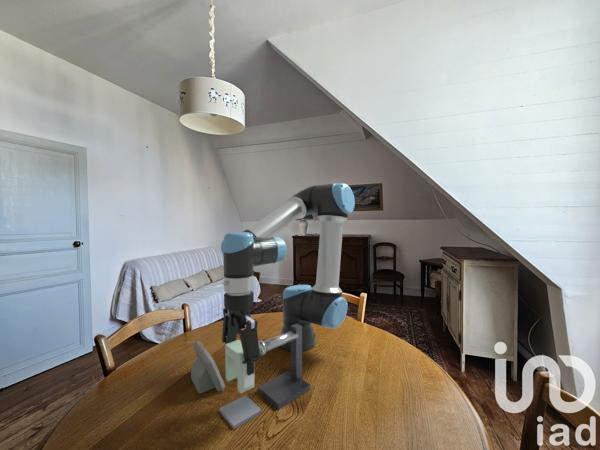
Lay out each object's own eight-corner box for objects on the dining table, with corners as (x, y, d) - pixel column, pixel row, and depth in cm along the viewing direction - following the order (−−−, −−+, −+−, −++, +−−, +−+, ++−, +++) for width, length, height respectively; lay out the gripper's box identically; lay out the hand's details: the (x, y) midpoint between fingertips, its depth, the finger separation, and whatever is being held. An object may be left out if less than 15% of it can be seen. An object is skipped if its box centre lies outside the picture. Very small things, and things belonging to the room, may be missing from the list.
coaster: (219, 411, 70) (219, 408, 70) (245, 397, 75) (245, 394, 75) (233, 429, 64) (233, 426, 64) (261, 413, 69) (261, 410, 69)
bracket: (225, 378, 71) (225, 344, 71) (238, 373, 74) (238, 339, 73) (240, 393, 65) (240, 355, 65) (254, 386, 68) (254, 350, 67)
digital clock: (226, 393, 77) (225, 357, 77) (192, 402, 74) (192, 364, 73) (218, 365, 92) (218, 335, 92) (190, 371, 88) (190, 340, 88)
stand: (250, 394, 76) (250, 333, 76) (289, 374, 86) (289, 320, 86) (271, 413, 69) (270, 345, 68) (310, 389, 79) (310, 329, 78)
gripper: (208, 286, 74) (209, 366, 75) (247, 304, 58) (248, 405, 59) (232, 282, 79) (233, 357, 80) (274, 297, 63) (275, 390, 64)
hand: (239, 377), depth 69 cm, fingers closed on bracket, 8 cm apart
